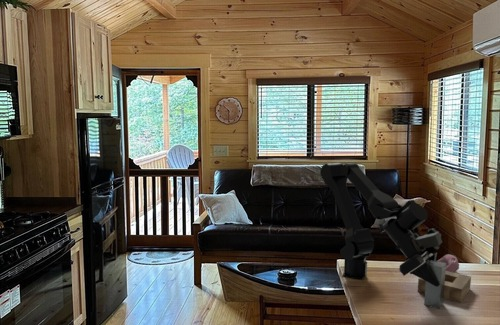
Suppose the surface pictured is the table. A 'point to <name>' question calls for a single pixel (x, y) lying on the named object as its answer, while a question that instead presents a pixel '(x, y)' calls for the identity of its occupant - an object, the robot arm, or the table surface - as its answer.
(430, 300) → the grey rectangular block
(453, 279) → the brown square wooden frame
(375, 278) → the table surface
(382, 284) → the table surface
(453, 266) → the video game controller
